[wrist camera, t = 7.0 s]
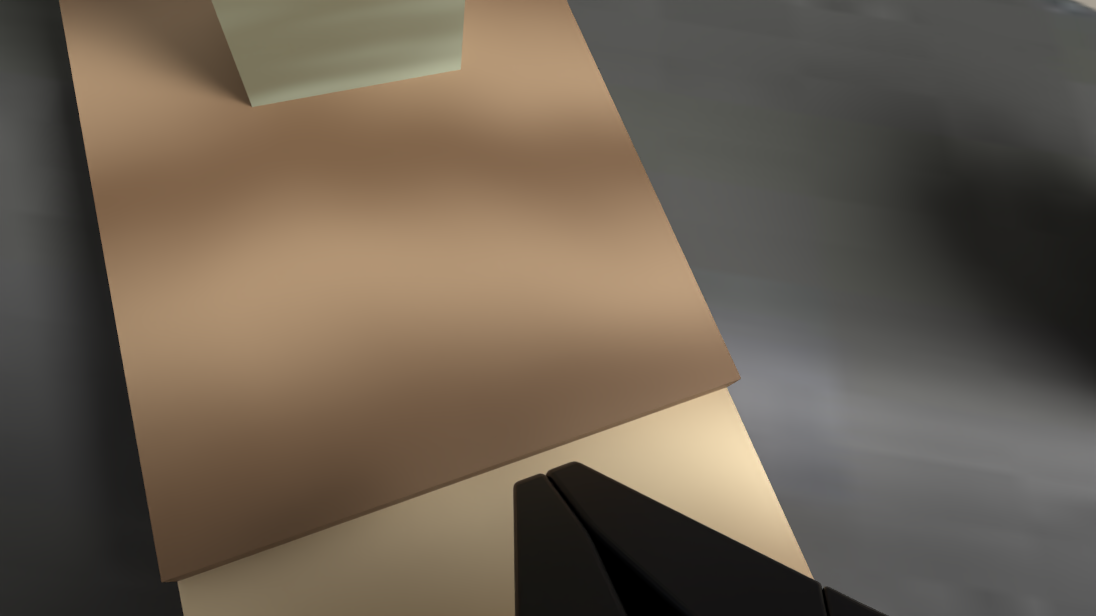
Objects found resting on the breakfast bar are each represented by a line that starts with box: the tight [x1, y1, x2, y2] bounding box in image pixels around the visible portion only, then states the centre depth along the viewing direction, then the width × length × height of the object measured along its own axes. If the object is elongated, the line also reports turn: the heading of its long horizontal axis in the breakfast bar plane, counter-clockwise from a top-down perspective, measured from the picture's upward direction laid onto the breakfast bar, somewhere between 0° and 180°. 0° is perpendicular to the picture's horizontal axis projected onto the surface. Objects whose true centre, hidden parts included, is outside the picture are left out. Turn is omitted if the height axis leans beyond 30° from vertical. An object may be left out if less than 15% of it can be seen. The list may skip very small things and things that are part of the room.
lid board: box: [59, 0, 741, 582], centre depth 12 cm, size 14×12×10 cm
